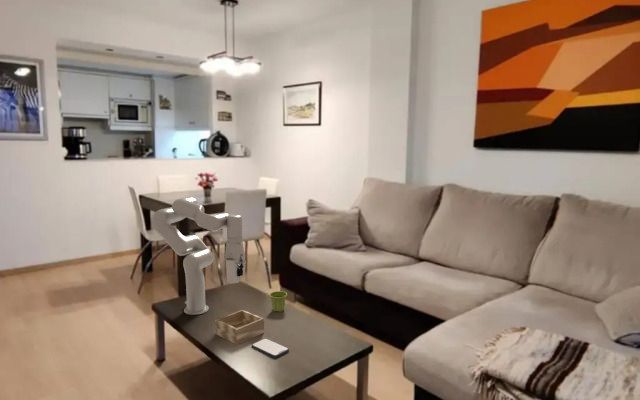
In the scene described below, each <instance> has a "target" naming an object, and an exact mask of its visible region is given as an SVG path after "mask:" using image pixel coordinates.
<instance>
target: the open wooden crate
mask: <svg viewBox="0 0 640 400" xmlns="http://www.w3.org/2000/svg"><path fill="white" fill-rule="evenodd" d="M214 322H215V324H214V325H215V335H217V336H219V337H221V338H223V339H225V340H227V341H228V342H231V343H232V344H235V345H240V344H242V343H244V342H247V341H249V340H251V339H253V338H256V337H258V336H260V335H262V334H264V333H265V318H264V317H261V316H259V315H256V314H255V313H251V312H249V311H246V310H244V309H240V310H238V311H235V312H233V313H229V314H227V315H225V316H222V317H220V318H217V319H215V321H214Z"/></svg>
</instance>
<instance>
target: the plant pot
mask: <svg viewBox="0 0 640 400" xmlns="http://www.w3.org/2000/svg"><path fill="white" fill-rule="evenodd" d="M287 296H288V293H287V292H285V291H281V290H277V291H272V292H270V293H269V297H270V300H271V301H270V302H271V309H272V311H274V312H283V311H284V310H285V306H286V305H285V304H286V298H287Z"/></svg>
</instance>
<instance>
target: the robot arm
mask: <svg viewBox="0 0 640 400" xmlns="http://www.w3.org/2000/svg"><path fill="white" fill-rule="evenodd" d="M186 218H187V219H189V220H192V221H194V222H195V223H196V224H197V226H198V227H200V228H203V229H205V230H207V231H213V232H216V231H220V230H223V229H226V243H225V252H224V254H225V255H224V259H225V261H226V258H227V260H235V264H237V267H238V269H237V276H238V277H239V276H240V277H242V276H244V274H243V268H244V266H245V267H246V264H247V261H246V259H245V250H244V244H243V217H242V215H239V214H231V213H227V212H223V213H218V214H214V215H212V214H211V215H210V214H208V213H205V207H204V206H203V205H202V204H199V203H198V200H197V199H196V198H194V197H191V196H189V197H188V196H187V197H182V198H177V199H175V200H174V201H173V202H172V204H171V207H165V208H161V209H158V210H156V211H155V212H154V213H153V215H152V219H151V221H152V226H153V228H154V230H155V231H156V232H157V233H158V235H159V236H161V237H162V238H163V239H164V240H165V242H166V243H167V244H168V246H169V247H170V248H171V249H172V250H173V251H174V252H175V254H176V255H178V256H180V257H181V256H185V257H184V259H183V261H182V262H183V263H182V265H183V269H184V273H185V274H184V276H185V286H186V289H185V291H186V293H185V294H186V300H185V301H184V304H186V306H185V308H184V309H183V312H184V313H185V314H186V315H188V316H189V315H191V316H194V315H195V316H197V315H201V314H205V313H207V312H208V311H209V306H208V305H207V304H206V283H205V274H204V273H203V271H202V269H203V268H207V267H209V266H210V265H212V263H213V262H214V254H213V253H212V251H211V250H210V248H209V247H208V246H207V245H206V244H205V243H204V241H203V240H202V239H201V237H199V236H197V235H195V234H188V235H183V234H182V233H181V232H180V230H179V229H178V228H177V227H175V226H173V225H171V224H174V223H177V222H180V221H183V220H184V219H186ZM239 261H240V262H239ZM239 263H240V265H239Z"/></svg>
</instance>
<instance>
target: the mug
mask: <svg viewBox="0 0 640 400" xmlns="http://www.w3.org/2000/svg"><path fill="white" fill-rule="evenodd" d="M239 262H240V261H239ZM239 265H241V264H240V263H239ZM225 269H226V270H225V271H226V273H225V274H226V283H228V284H230V285H231V284H232V285H233V284H237V283H238V284H239V283H240V277H241V276H239V277H238V276H237V269H238V267H237V264H235V260H227V258H226V260H225ZM245 270H246V265H245V266H244V268H243V275H244V273H245Z"/></svg>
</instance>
